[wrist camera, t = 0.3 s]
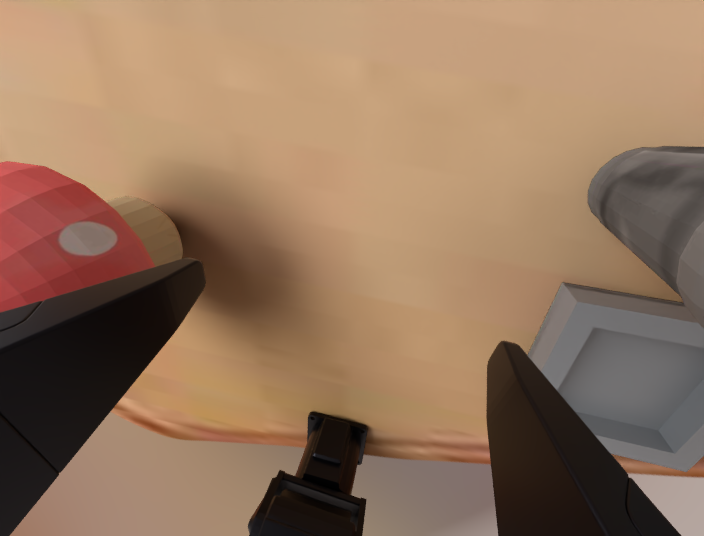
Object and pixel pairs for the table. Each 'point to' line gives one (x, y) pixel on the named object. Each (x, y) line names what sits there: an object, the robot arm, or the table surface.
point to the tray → (628, 371)
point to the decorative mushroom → (72, 235)
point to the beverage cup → (658, 213)
